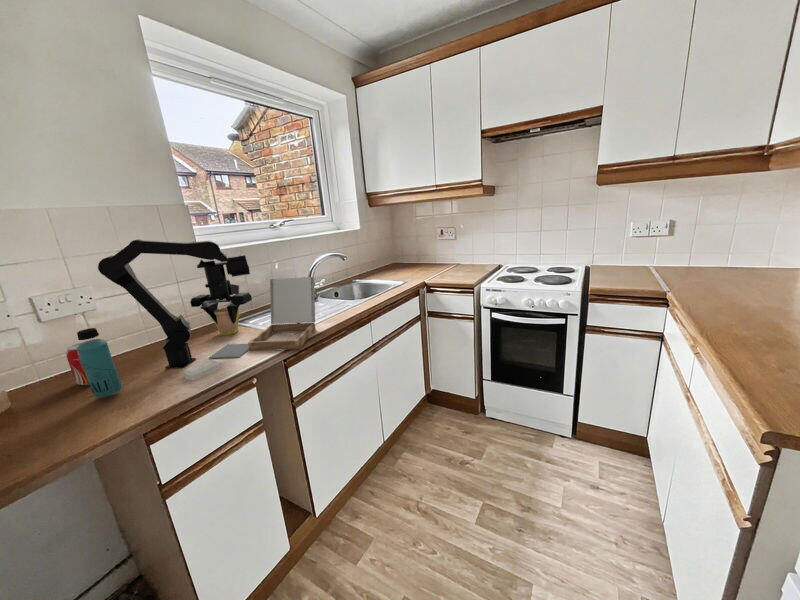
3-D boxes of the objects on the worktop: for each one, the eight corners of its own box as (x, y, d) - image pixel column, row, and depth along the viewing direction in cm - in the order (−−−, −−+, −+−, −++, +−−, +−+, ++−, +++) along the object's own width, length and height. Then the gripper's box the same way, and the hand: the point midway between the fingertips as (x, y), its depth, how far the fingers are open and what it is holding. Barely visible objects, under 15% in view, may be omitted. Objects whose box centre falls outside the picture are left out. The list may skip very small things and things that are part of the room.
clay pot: (231, 331, 113) (226, 311, 112) (214, 332, 114) (210, 312, 112) (240, 325, 119) (236, 306, 117) (224, 326, 120) (220, 307, 118)
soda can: (84, 378, 106) (71, 343, 103) (111, 373, 109) (99, 339, 105) (72, 389, 100) (58, 352, 97) (101, 383, 102) (88, 347, 99)
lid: (313, 276, 134) (314, 277, 135) (270, 279, 136) (271, 279, 136) (314, 322, 133) (315, 322, 133) (271, 324, 135) (271, 324, 135)
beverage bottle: (121, 387, 99) (99, 323, 93) (127, 394, 95) (104, 327, 89) (92, 398, 94) (67, 331, 88) (97, 405, 90) (71, 336, 84)
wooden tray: (298, 348, 116) (297, 340, 116) (249, 350, 118) (247, 342, 117) (315, 329, 134) (314, 322, 133) (272, 331, 135) (271, 324, 135)
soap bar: (184, 377, 103) (182, 369, 102) (214, 365, 110) (212, 358, 109) (191, 381, 100) (189, 373, 99) (221, 368, 107) (219, 361, 106)
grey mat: (239, 357, 113) (239, 356, 113) (209, 358, 114) (208, 357, 114) (255, 344, 124) (255, 343, 123) (227, 345, 125) (227, 344, 125)
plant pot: (232, 337, 132) (226, 313, 130) (209, 337, 135) (203, 314, 132) (248, 327, 142) (243, 305, 140) (227, 327, 144) (221, 306, 142)
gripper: (255, 272, 118) (263, 314, 123) (205, 275, 120) (215, 316, 125) (238, 279, 108) (247, 325, 112) (184, 282, 110) (195, 327, 114)
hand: (226, 323), depth 116 cm, fingers closed on clay pot, 5 cm apart
